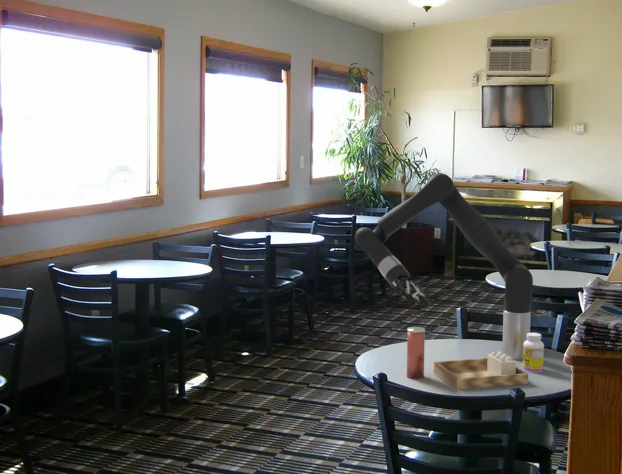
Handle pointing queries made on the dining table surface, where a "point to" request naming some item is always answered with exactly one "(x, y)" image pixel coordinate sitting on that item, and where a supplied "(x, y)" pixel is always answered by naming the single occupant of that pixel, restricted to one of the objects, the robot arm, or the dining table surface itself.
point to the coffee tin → (415, 352)
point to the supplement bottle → (533, 353)
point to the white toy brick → (500, 364)
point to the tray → (475, 374)
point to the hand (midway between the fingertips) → (421, 305)
